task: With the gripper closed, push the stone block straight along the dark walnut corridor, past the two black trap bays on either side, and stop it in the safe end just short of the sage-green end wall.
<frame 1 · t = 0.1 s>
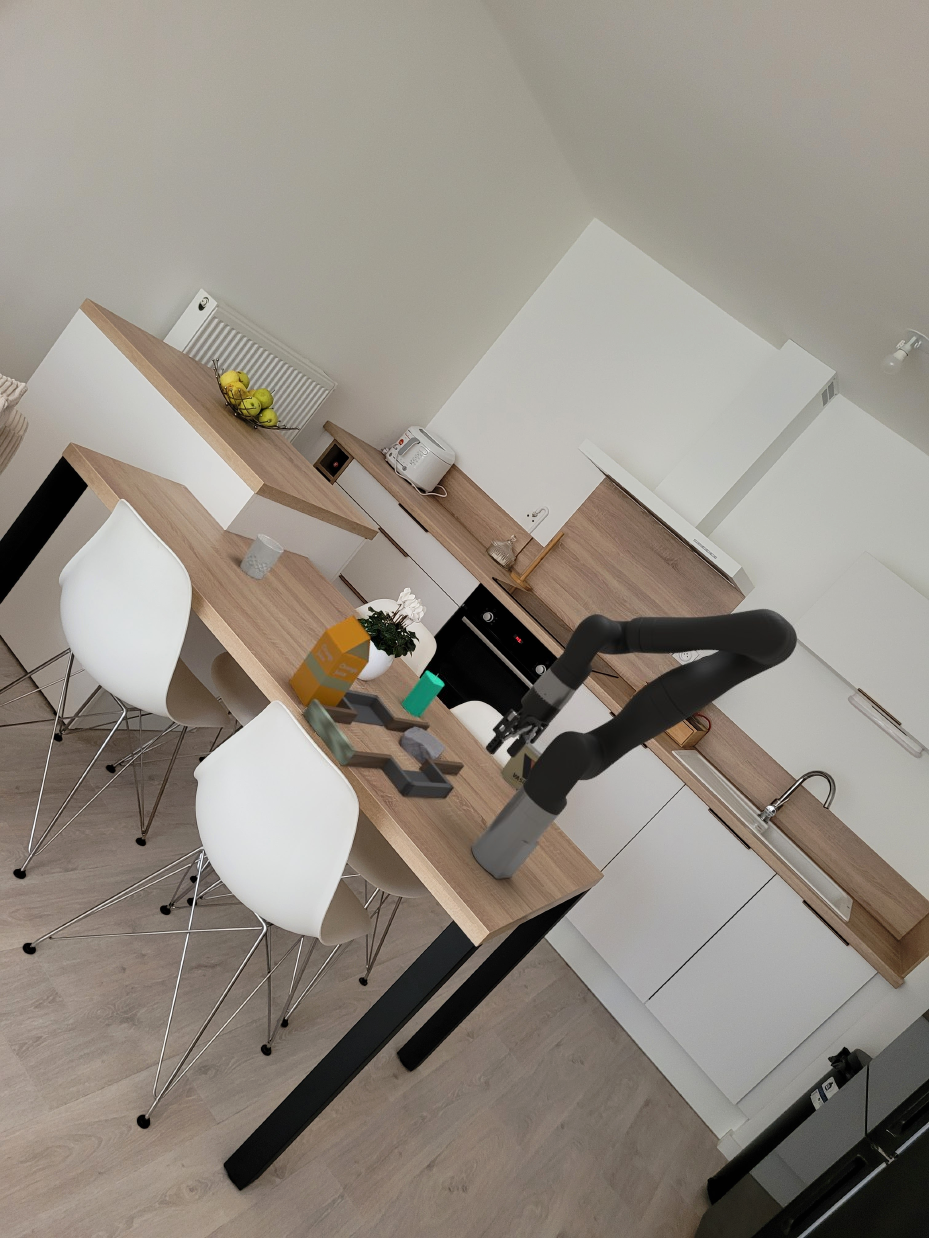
hand: (499, 753, 170), 17 cm above the table, tool pointing down, fingers open, 8 cm apart
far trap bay: (357, 712, 188), on the table
stone block: (416, 751, 192), on the table
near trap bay: (414, 783, 175), on the table
beige canister: (512, 781, 215), on the table
candle: (410, 710, 212), on the table
white cup: (250, 573, 222), on the table
corridor: (385, 746, 182), on the table
orange juice: (309, 698, 178), on the table
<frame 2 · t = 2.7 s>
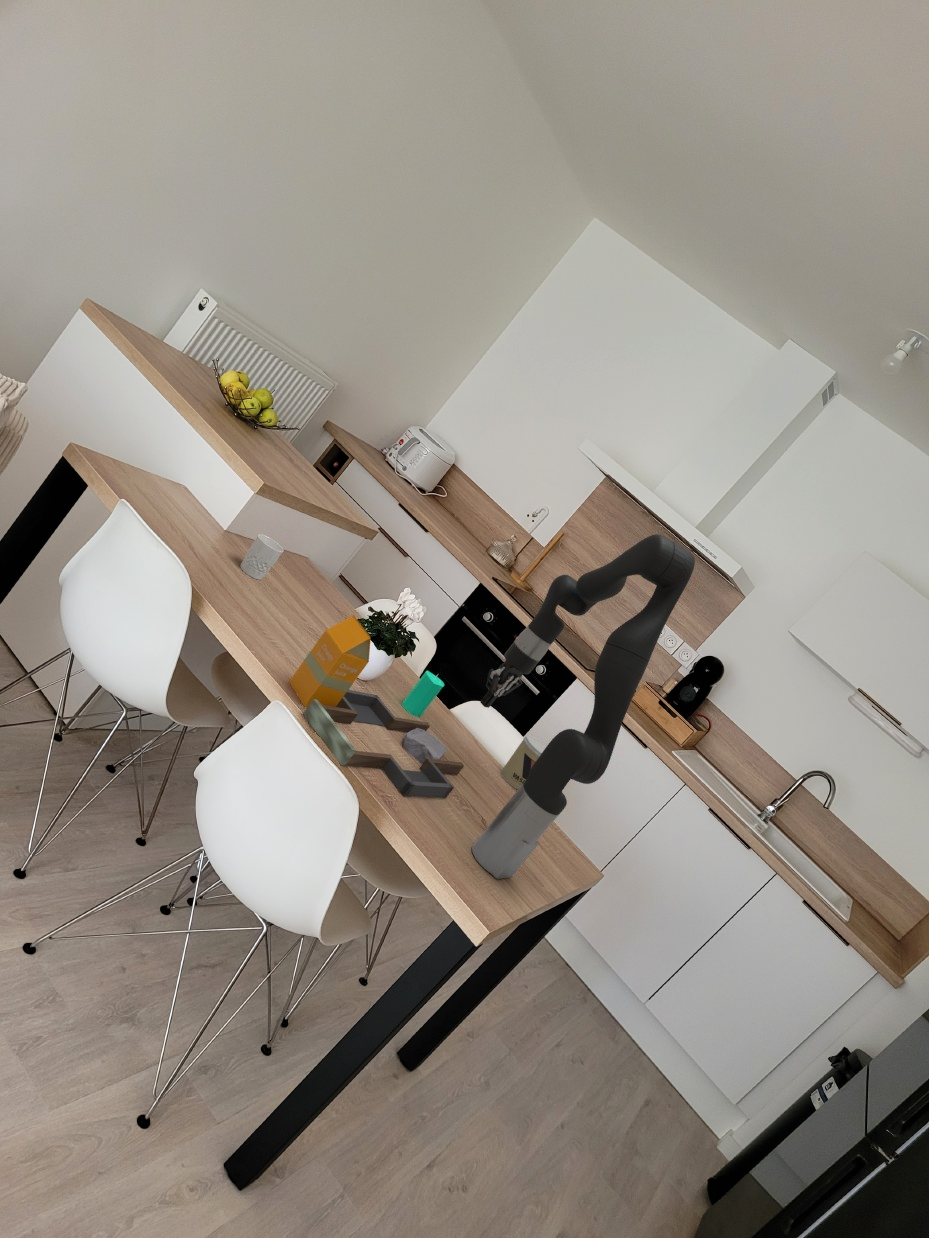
hand: (484, 705, 198), 16 cm above the table, tool pointing down, fingers closed
stone block: (418, 752, 192), on the table, touching corridor
everything else where it was.
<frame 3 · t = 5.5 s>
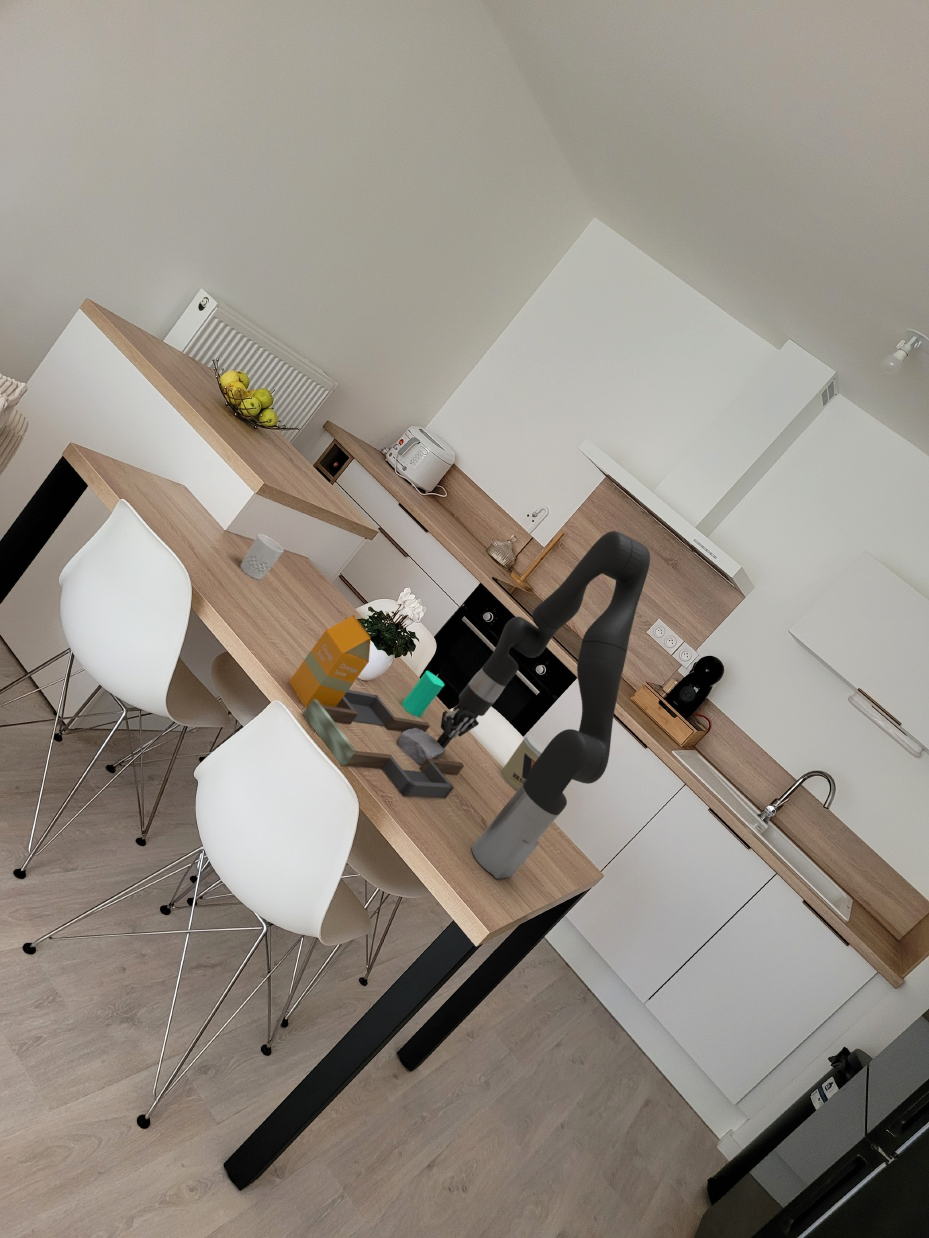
hand: (439, 745, 197), 2 cm above the table, tool pointing down, fingers closed
stone block: (414, 751, 191), on the table
everything else where it was.
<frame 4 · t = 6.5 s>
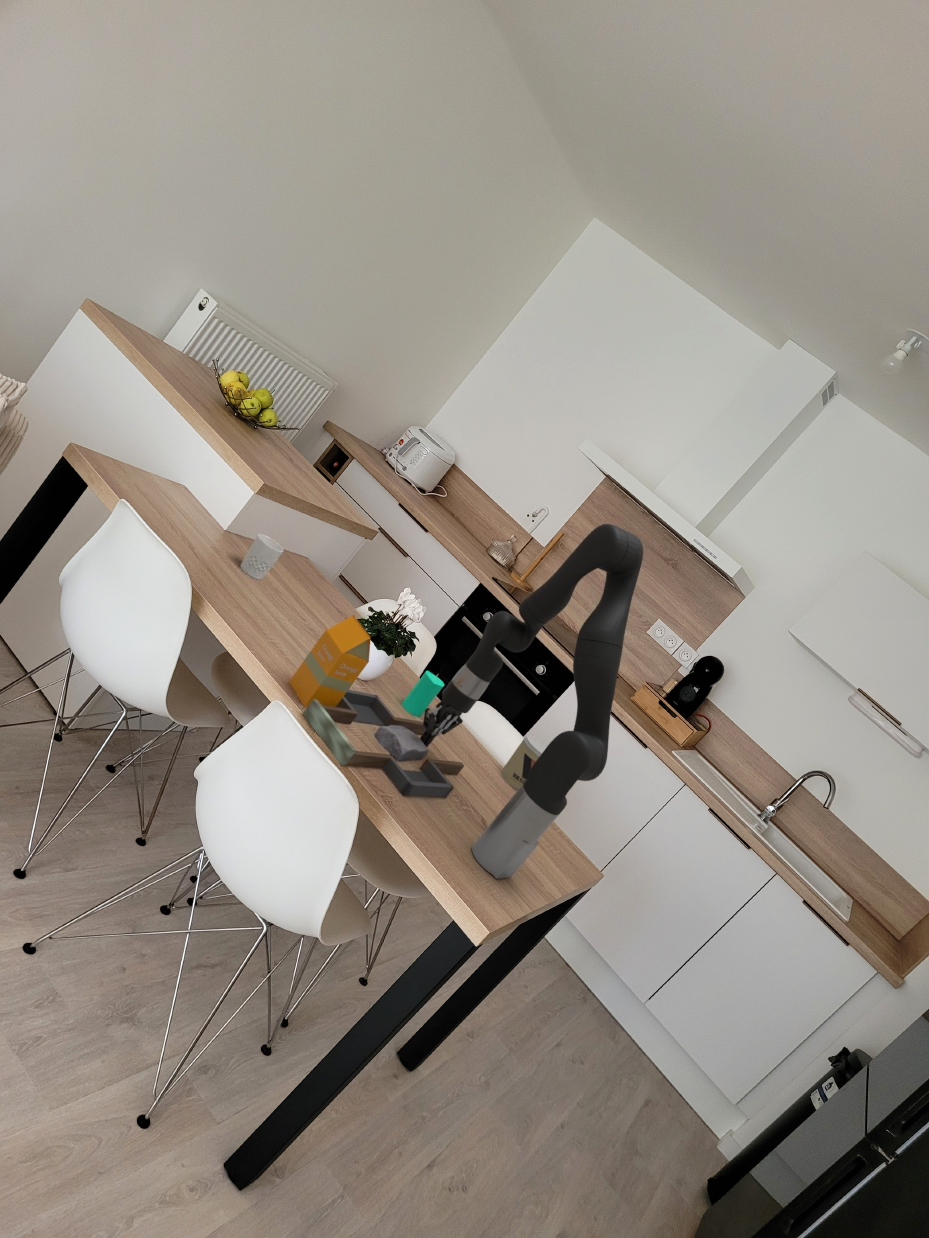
hand: (422, 744, 191), 2 cm above the table, tool pointing down, fingers closed
stone block: (395, 747, 186), on the table
everything else where it was.
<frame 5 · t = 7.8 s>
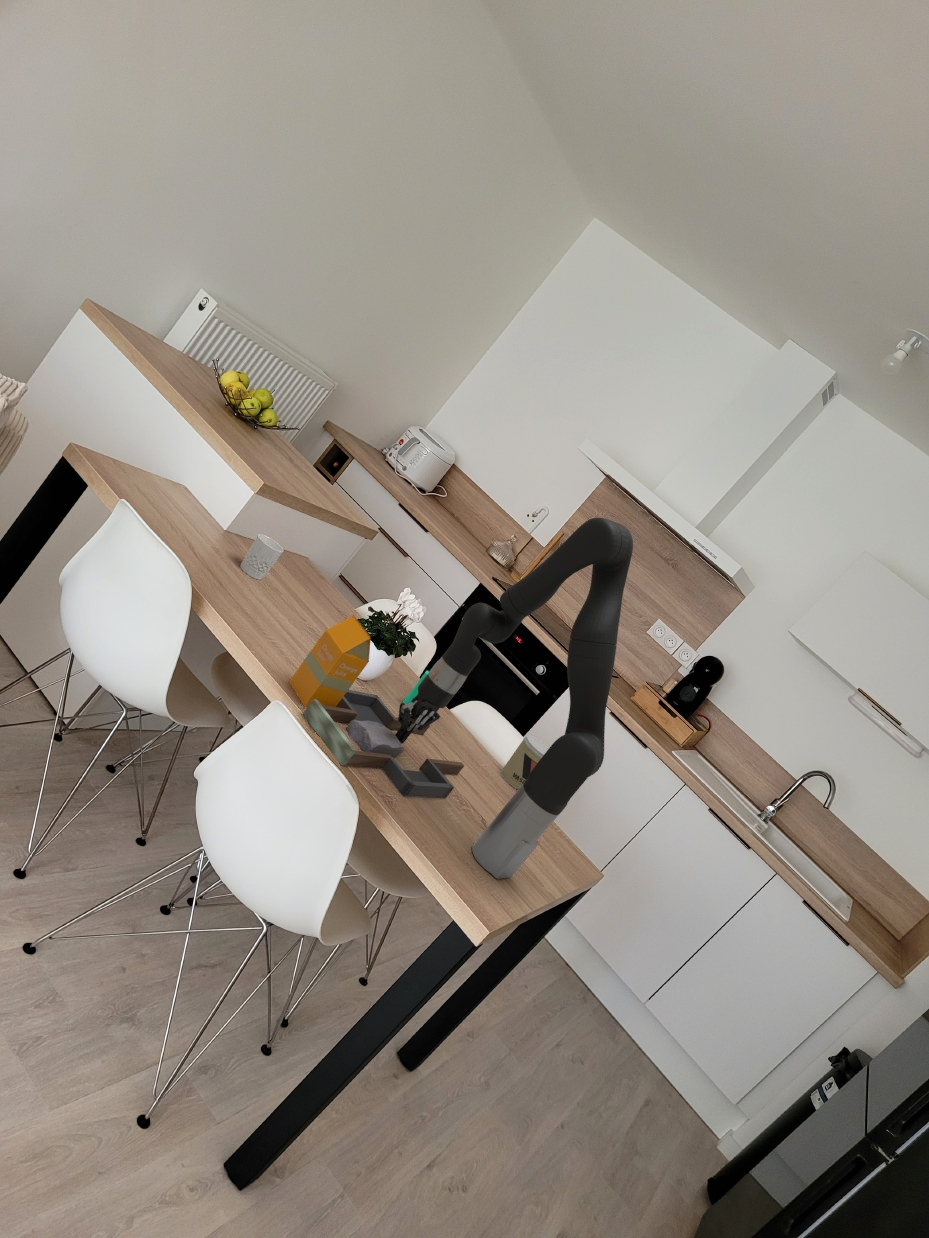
hand: (397, 740, 184), 2 cm above the table, tool pointing down, fingers closed
stone block: (368, 743, 179), on the table, touching gripper
everything else where it was.
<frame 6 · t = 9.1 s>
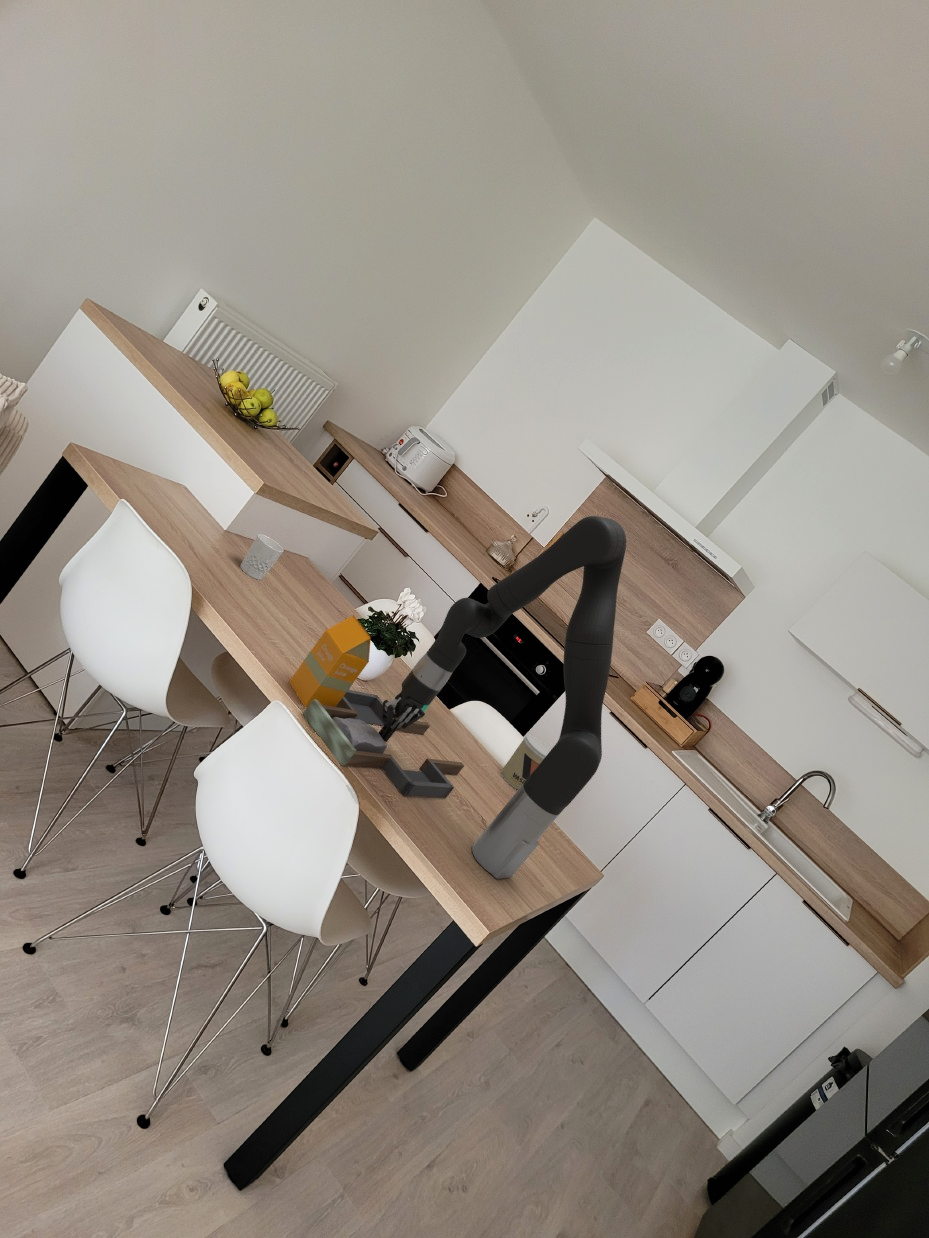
hand: (381, 739, 179), 2 cm above the table, tool pointing down, fingers closed
stone block: (351, 741, 174), on the table
everything else where it was.
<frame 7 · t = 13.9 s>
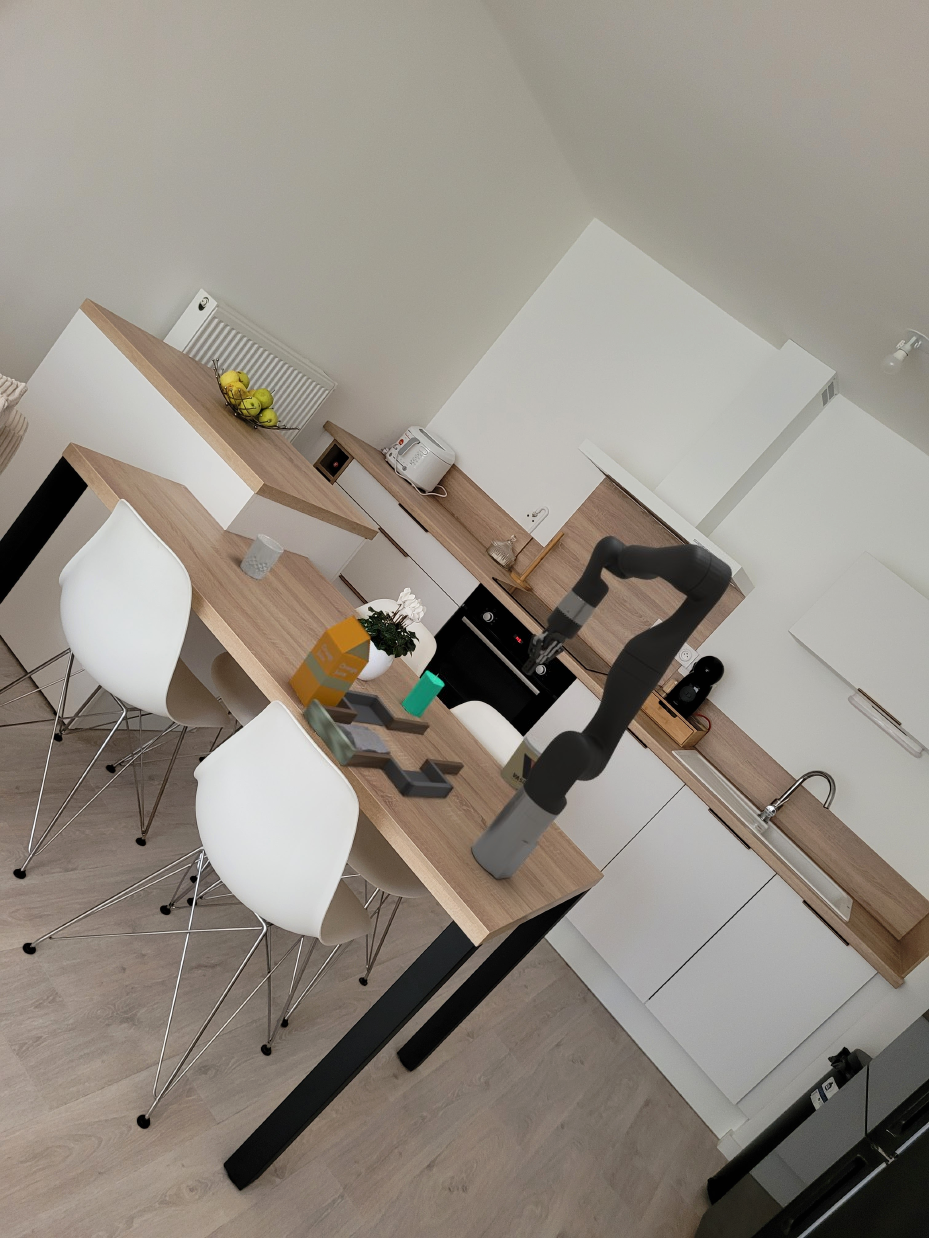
hand: (525, 672, 192), 29 cm above the table, tool pointing down, fingers closed
stone block: (354, 748, 172), on the table
everything else where it was.
at the end: stone block inside the target area (1.7 cm from its centre), on the table; stone block moved 23.2 cm from its start; stone block touching table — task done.
